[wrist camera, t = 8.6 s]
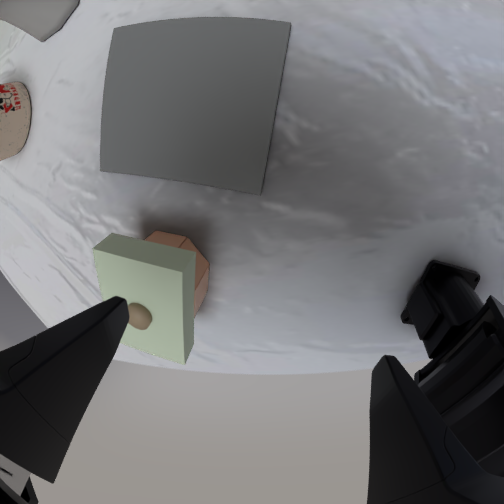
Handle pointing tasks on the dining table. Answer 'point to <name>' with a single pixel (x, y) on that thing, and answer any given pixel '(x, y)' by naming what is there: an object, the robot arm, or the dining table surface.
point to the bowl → (200, 266)
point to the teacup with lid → (13, 118)
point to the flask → (37, 15)
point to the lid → (150, 293)
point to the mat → (193, 100)
